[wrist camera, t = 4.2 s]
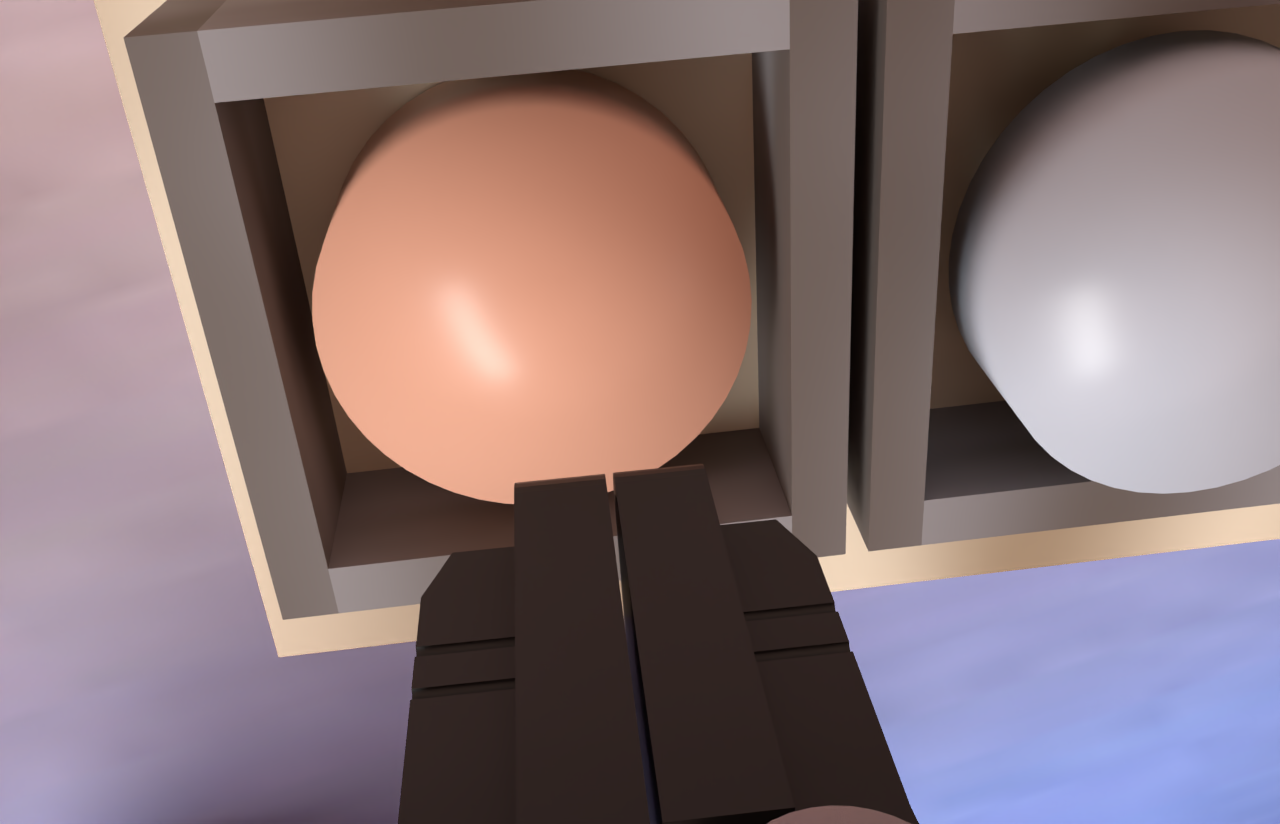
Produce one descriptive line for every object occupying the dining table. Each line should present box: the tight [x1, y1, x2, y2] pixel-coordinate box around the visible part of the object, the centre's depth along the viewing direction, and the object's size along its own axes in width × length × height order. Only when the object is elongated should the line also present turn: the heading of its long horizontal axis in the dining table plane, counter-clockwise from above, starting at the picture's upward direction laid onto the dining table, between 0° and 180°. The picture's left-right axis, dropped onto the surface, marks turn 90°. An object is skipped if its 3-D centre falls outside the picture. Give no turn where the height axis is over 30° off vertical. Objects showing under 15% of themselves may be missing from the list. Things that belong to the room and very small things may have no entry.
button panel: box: [94, 0, 1280, 657], centre depth 16 cm, size 24×12×5 cm, turn 94°
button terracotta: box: [312, 69, 752, 504], centre depth 15 cm, size 5×5×2 cm
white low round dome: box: [949, 30, 1280, 494], centre depth 14 cm, size 5×5×2 cm
